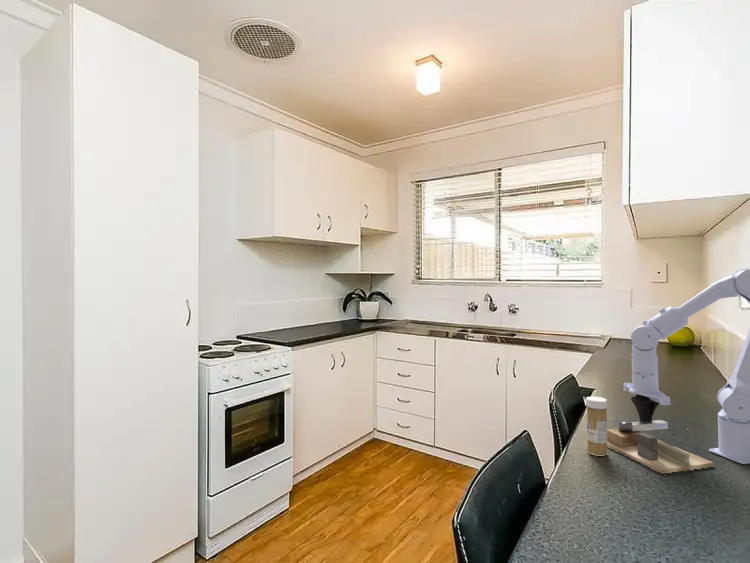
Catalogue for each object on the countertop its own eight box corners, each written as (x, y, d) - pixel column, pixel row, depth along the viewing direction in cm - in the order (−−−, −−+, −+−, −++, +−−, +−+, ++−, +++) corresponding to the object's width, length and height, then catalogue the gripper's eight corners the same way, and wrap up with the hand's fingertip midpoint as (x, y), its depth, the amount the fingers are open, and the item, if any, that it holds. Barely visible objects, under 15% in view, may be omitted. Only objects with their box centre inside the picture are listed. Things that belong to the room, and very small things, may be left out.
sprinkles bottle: (583, 450, 105) (582, 396, 105) (600, 449, 106) (599, 395, 106) (594, 458, 101) (593, 401, 101) (612, 457, 101) (611, 400, 101)
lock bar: (624, 432, 106) (624, 424, 106) (615, 428, 109) (615, 421, 109) (669, 429, 107) (669, 421, 107) (660, 425, 110) (659, 417, 110)
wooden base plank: (645, 438, 112) (645, 415, 112) (713, 467, 95) (713, 440, 95) (600, 444, 109) (599, 420, 109) (661, 474, 91) (661, 446, 91)
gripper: (612, 367, 117) (613, 417, 117) (650, 379, 102) (651, 436, 102) (636, 366, 117) (637, 415, 117) (678, 378, 103) (679, 434, 103)
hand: (646, 425), depth 110 cm, fingers closed, pressing on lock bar
